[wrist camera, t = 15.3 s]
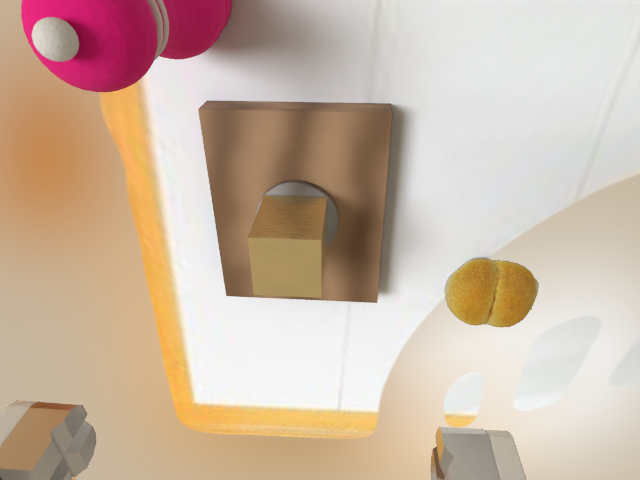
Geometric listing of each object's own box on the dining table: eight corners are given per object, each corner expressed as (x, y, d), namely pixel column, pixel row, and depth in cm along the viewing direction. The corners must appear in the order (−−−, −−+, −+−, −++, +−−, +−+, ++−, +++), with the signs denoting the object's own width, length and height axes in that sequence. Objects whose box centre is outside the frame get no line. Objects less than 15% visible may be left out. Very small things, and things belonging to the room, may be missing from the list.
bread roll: (451, 251, 47) (458, 275, 44) (539, 259, 47) (553, 283, 43) (435, 312, 51) (441, 337, 48) (516, 319, 51) (527, 345, 48)
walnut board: (390, 103, 39) (398, 145, 31) (376, 287, 50) (379, 354, 42) (207, 100, 40) (167, 140, 32) (231, 281, 51) (207, 345, 43)
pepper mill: (252, 31, 37) (161, 102, 20) (173, 58, 38) (27, 146, 22) (214, -73, 33) (65, -92, 16) (129, -38, 35) (-86, -22, 18)
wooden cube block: (327, 197, 40) (321, 240, 34) (326, 250, 43) (321, 297, 37) (264, 195, 40) (247, 237, 35) (268, 247, 44) (253, 294, 38)
